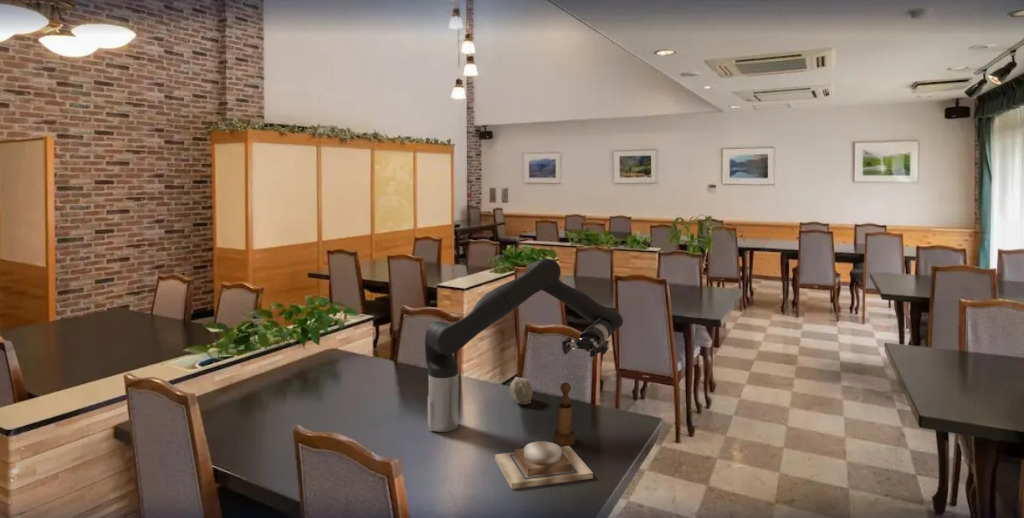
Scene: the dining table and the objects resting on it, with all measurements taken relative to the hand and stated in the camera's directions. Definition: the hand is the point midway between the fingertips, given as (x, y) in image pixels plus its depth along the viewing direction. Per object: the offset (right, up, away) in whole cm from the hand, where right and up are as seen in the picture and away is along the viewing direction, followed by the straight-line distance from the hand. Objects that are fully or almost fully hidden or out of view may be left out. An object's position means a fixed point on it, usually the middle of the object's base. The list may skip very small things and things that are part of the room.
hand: (578, 352), depth 187 cm
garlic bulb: (-17, -22, +26) cm, 38 cm away
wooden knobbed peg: (-5, -26, -6) cm, 27 cm away
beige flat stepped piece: (-12, -28, -24) cm, 39 cm away
